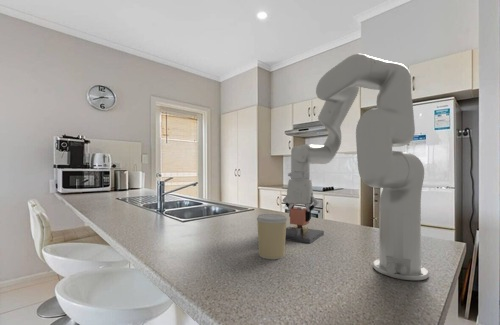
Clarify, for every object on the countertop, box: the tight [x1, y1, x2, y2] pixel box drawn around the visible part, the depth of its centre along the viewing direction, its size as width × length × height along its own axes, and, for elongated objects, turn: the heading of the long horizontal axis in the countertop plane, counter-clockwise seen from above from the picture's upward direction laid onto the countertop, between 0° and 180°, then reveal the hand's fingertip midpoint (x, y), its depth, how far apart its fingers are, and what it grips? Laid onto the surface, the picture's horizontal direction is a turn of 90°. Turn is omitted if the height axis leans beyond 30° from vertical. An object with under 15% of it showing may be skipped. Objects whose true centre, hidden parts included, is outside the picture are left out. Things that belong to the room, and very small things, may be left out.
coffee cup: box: [256, 213, 288, 260], centre depth 80 cm, size 9×9×12 cm
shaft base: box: [285, 206, 325, 244], centre depth 103 cm, size 16×13×11 cm
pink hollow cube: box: [289, 206, 310, 227], centre depth 106 cm, size 6×6×6 cm
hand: (299, 219), depth 106 cm, fingers closed on pink hollow cube, 6 cm apart
